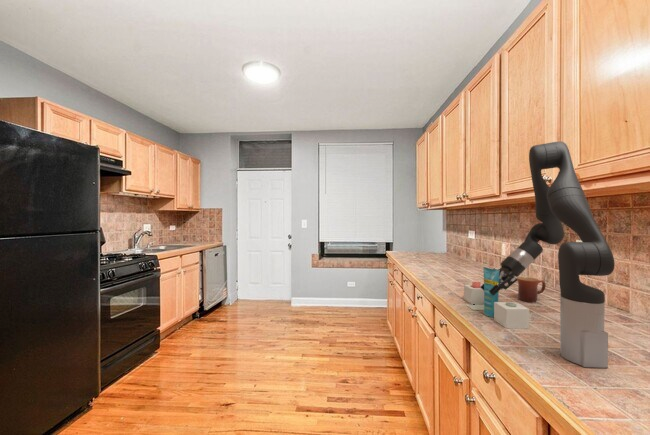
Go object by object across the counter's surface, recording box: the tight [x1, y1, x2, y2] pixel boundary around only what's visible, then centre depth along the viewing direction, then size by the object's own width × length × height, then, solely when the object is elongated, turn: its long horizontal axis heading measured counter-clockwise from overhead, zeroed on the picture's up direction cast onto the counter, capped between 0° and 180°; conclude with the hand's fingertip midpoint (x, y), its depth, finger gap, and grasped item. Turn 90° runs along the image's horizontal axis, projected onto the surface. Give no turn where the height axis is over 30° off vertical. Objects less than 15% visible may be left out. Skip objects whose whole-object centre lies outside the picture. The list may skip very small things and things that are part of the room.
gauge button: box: [471, 281, 482, 288], centre depth 131 cm, size 3×3×4 cm
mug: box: [516, 276, 546, 303], centre depth 132 cm, size 12×9×10 cm
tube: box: [482, 266, 500, 318], centre depth 114 cm, size 7×5×19 cm, turn 23°
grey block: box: [463, 284, 484, 305], centre depth 131 cm, size 8×8×7 cm
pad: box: [466, 304, 484, 311], centre depth 123 cm, size 6×9×1 cm, turn 87°
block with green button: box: [493, 301, 530, 330], centre depth 104 cm, size 8×8×8 cm
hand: (486, 291), depth 114 cm, fingers closed on tube, 6 cm apart
